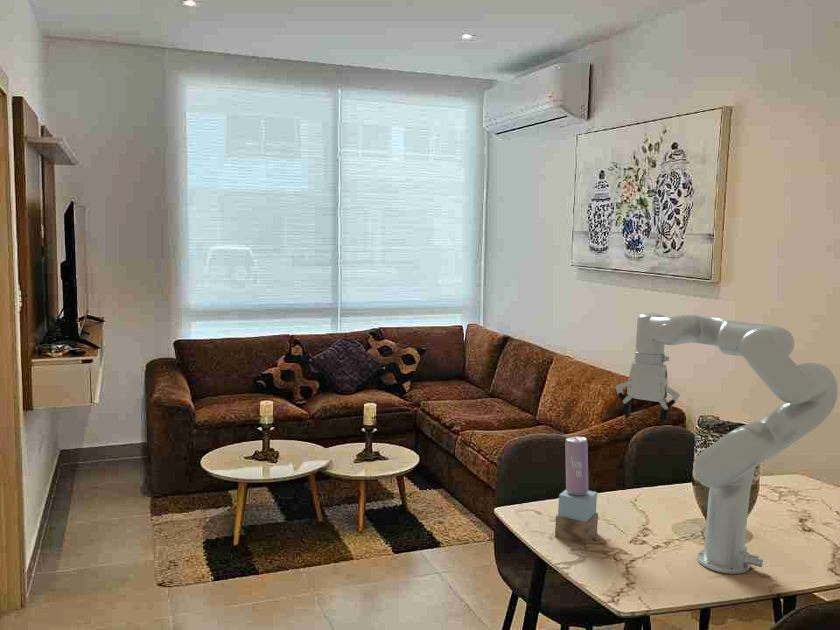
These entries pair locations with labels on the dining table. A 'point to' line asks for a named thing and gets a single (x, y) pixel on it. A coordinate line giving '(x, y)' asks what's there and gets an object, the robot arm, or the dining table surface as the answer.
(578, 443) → the beverage can
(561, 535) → the base block
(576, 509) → the top block
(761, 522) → the dining table surface
